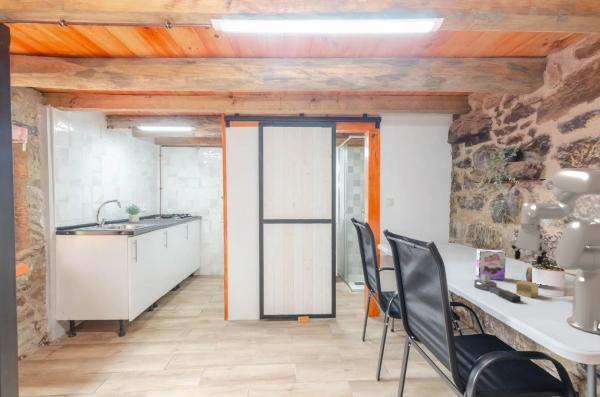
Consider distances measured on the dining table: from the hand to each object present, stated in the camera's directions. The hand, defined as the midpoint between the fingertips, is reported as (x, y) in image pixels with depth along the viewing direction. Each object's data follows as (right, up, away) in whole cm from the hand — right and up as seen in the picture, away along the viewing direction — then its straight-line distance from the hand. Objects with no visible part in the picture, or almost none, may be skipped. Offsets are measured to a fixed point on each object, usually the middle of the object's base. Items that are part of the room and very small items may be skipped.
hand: (528, 261), depth 149 cm
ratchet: (-15, -16, +2) cm, 22 cm away
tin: (+17, -17, +18) cm, 30 cm away
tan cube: (0, -17, 0) cm, 17 cm away
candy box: (-1, -16, +28) cm, 33 cm away
